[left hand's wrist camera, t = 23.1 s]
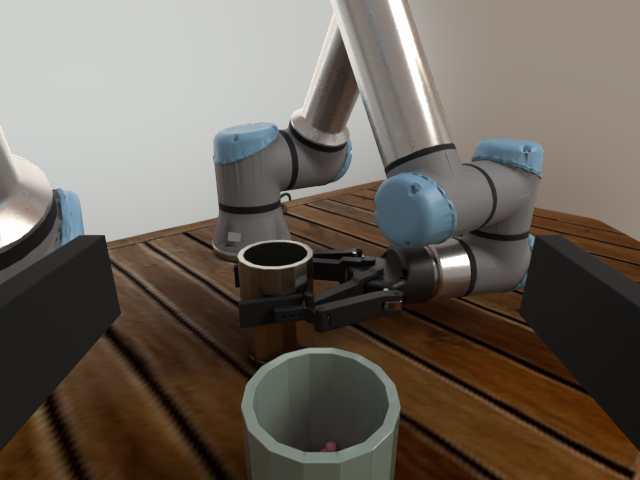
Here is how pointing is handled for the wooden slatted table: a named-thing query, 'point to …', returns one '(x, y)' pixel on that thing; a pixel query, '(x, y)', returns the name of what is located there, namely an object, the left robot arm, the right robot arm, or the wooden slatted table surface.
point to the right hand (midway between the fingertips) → (237, 293)
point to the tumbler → (276, 280)
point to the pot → (320, 418)
